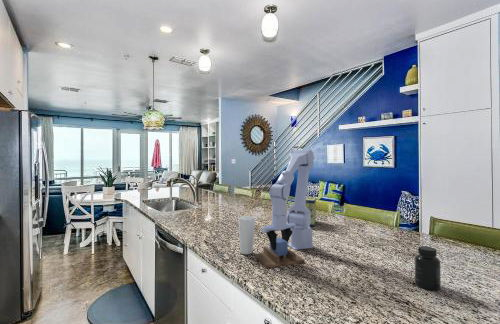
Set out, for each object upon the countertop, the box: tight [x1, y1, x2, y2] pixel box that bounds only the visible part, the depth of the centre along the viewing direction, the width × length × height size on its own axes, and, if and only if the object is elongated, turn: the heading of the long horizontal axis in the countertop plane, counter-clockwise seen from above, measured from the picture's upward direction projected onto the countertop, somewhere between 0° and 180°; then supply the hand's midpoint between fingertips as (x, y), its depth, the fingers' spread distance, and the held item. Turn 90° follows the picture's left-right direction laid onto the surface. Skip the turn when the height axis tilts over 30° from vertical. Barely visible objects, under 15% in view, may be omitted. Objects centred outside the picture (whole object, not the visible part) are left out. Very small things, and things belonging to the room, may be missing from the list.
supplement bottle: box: [414, 245, 442, 291], centre depth 85 cm, size 7×7×12 cm
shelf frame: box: [254, 246, 306, 269], centre depth 106 cm, size 16×12×4 cm
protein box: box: [296, 196, 317, 228], centre depth 164 cm, size 10×16×16 cm
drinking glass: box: [238, 215, 256, 255], centre depth 113 cm, size 7×7×15 cm
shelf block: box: [269, 237, 289, 256], centre depth 106 cm, size 6×4×5 cm
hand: (279, 248), depth 106 cm, fingers closed on shelf block, 4 cm apart
